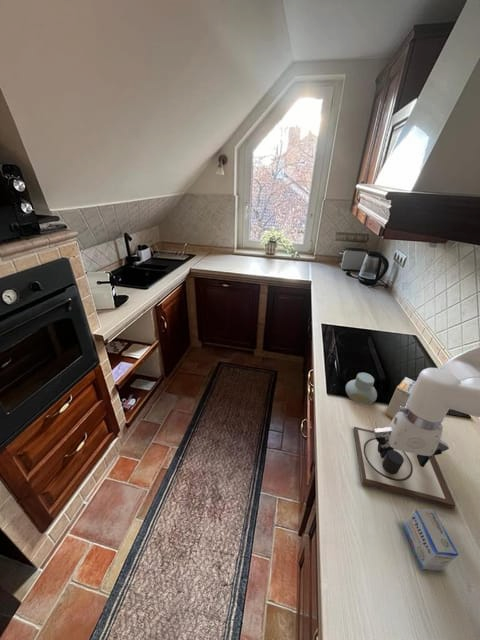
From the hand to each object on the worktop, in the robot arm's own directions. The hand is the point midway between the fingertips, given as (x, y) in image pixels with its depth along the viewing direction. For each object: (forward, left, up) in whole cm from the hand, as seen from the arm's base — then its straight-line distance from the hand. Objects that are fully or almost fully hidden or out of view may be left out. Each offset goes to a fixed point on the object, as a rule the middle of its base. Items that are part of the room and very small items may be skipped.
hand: (400, 457), depth 70 cm
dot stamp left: (+1, -6, -5) cm, 7 cm away
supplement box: (-7, -24, -7) cm, 25 cm away
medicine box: (-2, +17, -7) cm, 19 cm away
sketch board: (-2, -3, -6) cm, 7 cm away
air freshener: (+5, -28, -7) cm, 29 cm away
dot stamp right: (+1, 0, -5) cm, 5 cm away
